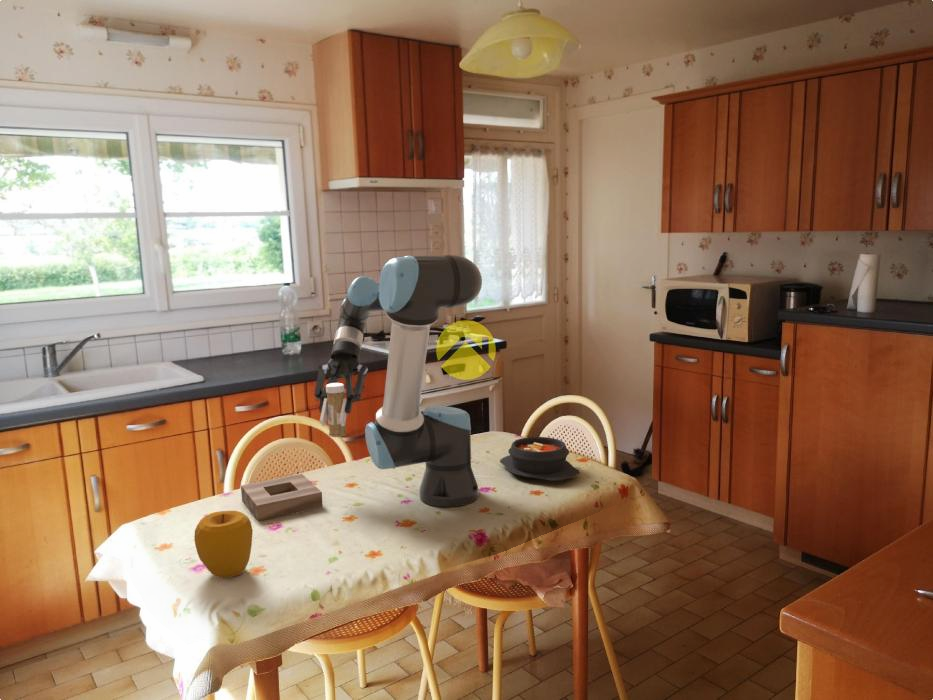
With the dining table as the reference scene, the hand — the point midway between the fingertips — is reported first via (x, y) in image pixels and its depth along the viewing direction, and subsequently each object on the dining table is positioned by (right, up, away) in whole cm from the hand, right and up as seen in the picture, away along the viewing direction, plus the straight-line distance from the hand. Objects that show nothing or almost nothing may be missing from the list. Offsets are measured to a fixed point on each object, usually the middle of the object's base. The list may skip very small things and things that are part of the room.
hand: (332, 423), depth 176 cm
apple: (-14, -27, -35) cm, 46 cm away
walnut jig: (-13, -21, +1) cm, 24 cm away
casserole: (+54, -16, +21) cm, 60 cm away
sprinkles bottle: (+1, -4, +5) cm, 6 cm away
